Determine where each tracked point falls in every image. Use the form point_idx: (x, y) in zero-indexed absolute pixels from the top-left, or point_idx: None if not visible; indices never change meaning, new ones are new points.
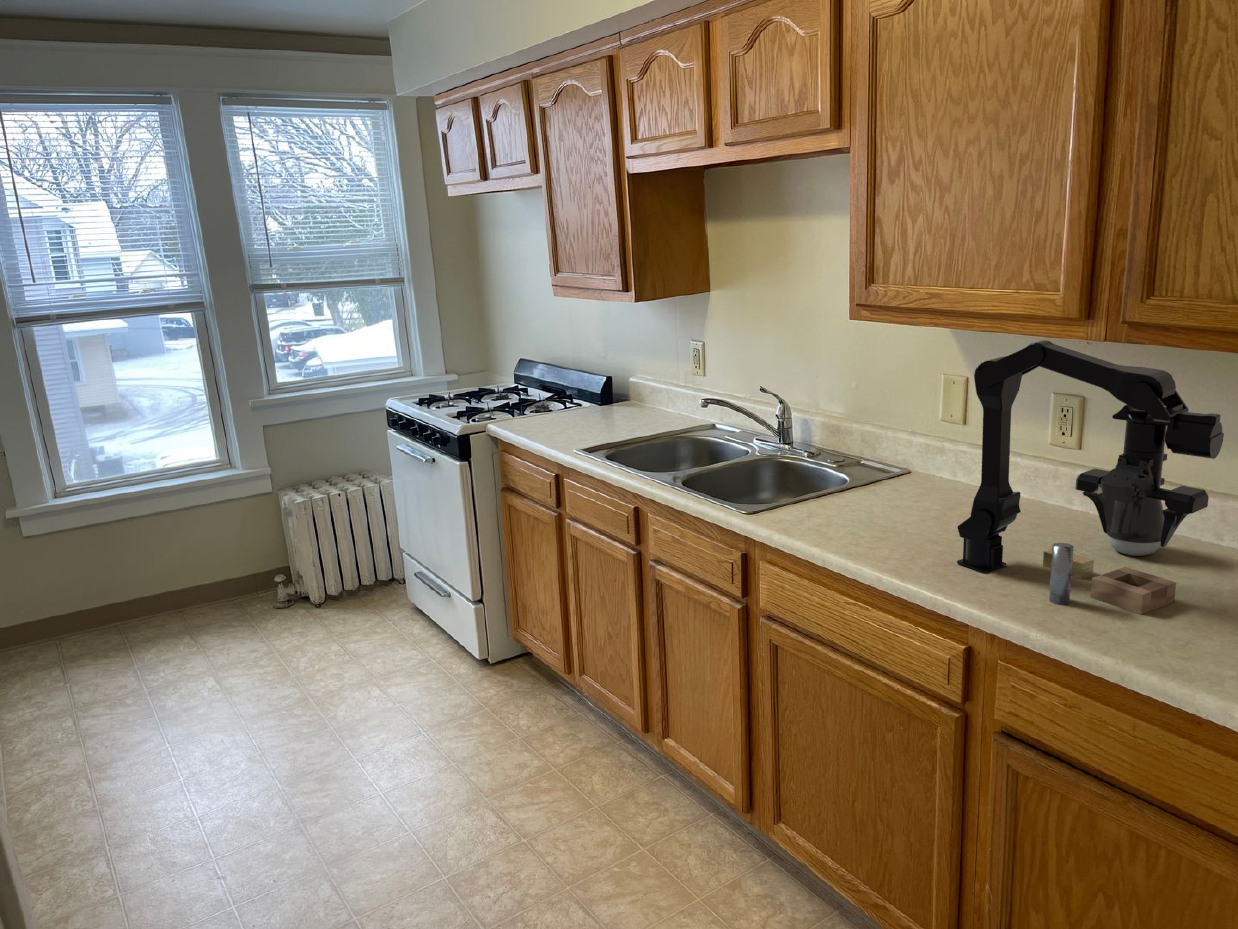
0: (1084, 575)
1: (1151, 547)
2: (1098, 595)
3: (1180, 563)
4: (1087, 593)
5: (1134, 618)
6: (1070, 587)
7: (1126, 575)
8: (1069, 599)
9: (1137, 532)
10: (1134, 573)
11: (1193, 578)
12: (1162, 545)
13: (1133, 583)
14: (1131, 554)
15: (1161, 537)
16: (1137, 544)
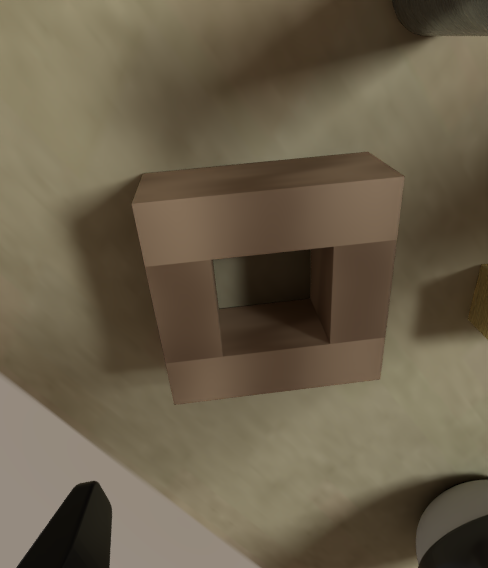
0: (483, 285)
1: (423, 534)
2: (339, 159)
3: (345, 526)
4: None
5: (126, 118)
6: (432, 2)
7: (329, 325)
8: (400, 1)
9: (480, 561)
10: (317, 357)
11: (267, 492)
12: (73, 493)
13: (300, 324)
14: (454, 487)
15: (59, 561)
16: (456, 521)
